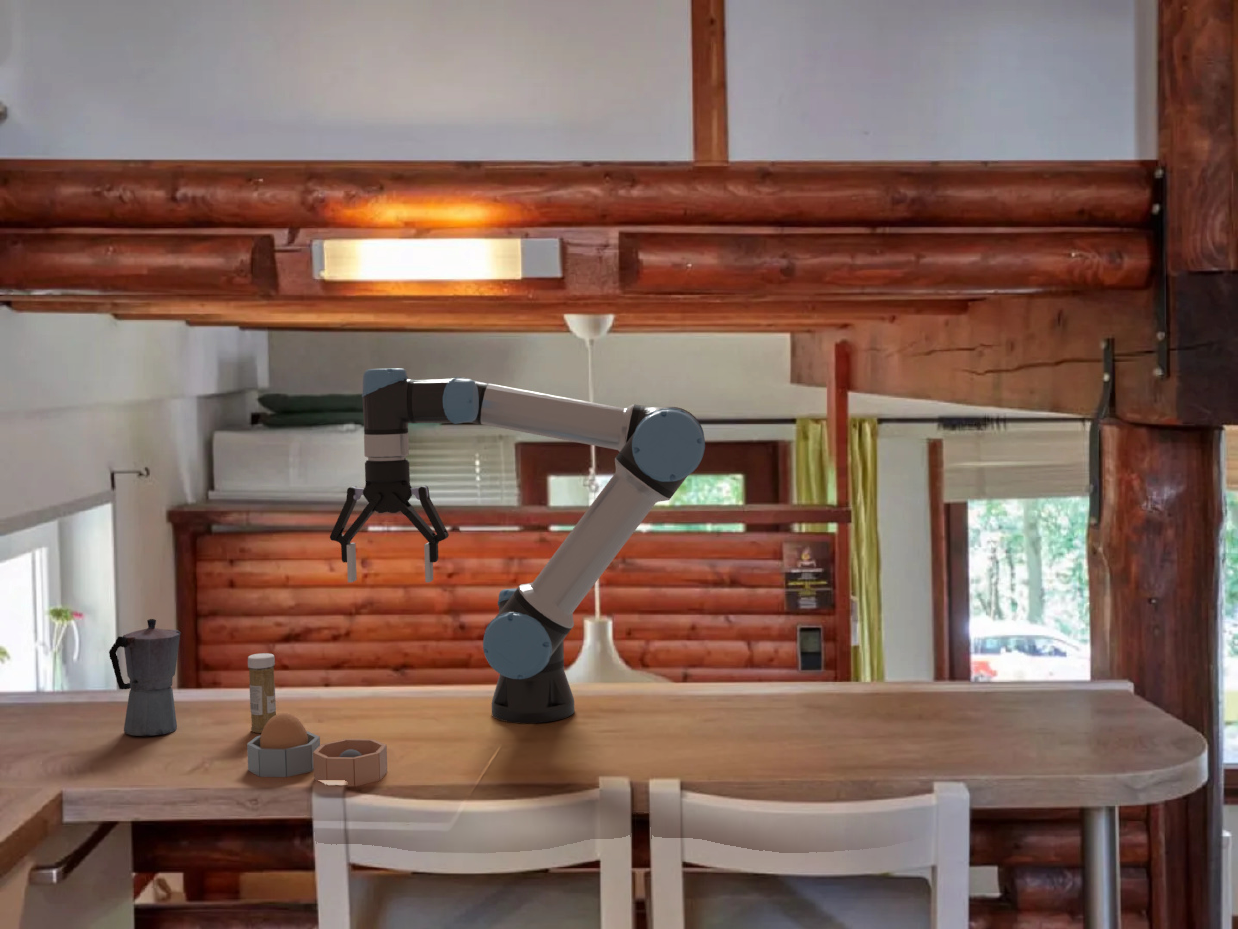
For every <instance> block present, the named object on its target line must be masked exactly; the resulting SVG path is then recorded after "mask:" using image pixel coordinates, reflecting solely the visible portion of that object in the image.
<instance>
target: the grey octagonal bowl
mask: <svg viewBox="0 0 1238 929" xmlns="http://www.w3.org/2000/svg"><path fill="white" fill-rule="evenodd" d="M306 732H307V736H308V744H305V745H301V746H296V747H291V748H287V749H263V748H260V738H261V734H260V735H257V736H255V737H254V738H253V739H251V740H249V742H247V744H246V746H247V747H246V748H247V749H246V752H247V770H248V772H251V773H252V774H254V775H256V776H258V777H259V778H260V777H261V778H270V777H271V778H286V777H287V778H289V777H292V776H297V775H298V776H299V775H302V774H306V773H310V772H314V764H313V752H314V751H315V750H316V749H317V748H318V747H319V746H320V745H321V736H319V735H318V734H317V735H316V734H315V733H313V732H310V731H307V730H306Z"/></svg>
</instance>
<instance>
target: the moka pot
mask: <svg viewBox="0 0 1238 929" xmlns="http://www.w3.org/2000/svg"><path fill="white" fill-rule="evenodd" d="M156 623H157V620H156V619H154V618H150V619H147V626H148V627H147V628H143V629H139V630H134V631H131V632H129V633H126V634H124V635H122V636H118V637H117V639H116V640H115V643H113V644H112V646H111V648H110V650H108V654H109V660H110V661H111V665H112V669H113V671H114V672H113V673H114V675H115V678H116V683H117V685H118V689H119V690H129V693H128V699H127V707H126V713H125V718H124V725H123V732H124V733H125V734H127V735H129V736H136V737H149V736H150V737H151V736H152V737H153V736H160V735H161V736H162V735H166V734H169V733H173V732H176V730H177V729H178V722H177V717H176V707H175V699H174V698H175V697H174V691H173V687H172V686H173V680H174V679H173V678H174V676H176V670H177V660H178V653H179V644H180V636H181V635H182V632H181V631H179V630H178V629H162V628H157V627H156ZM119 648H124V657H125V665H126V674H127V675H126V676H127V677H128V679H129V682H127V683H125V681H124V679H123V676H122V672H121V668H120V663H119V659H118V658H119V657H118V655H117V652H118V650H119Z"/></svg>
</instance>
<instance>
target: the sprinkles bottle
mask: <svg viewBox="0 0 1238 929" xmlns="http://www.w3.org/2000/svg"><path fill="white" fill-rule="evenodd" d="M275 661H276V659H275V655H274V654H272V653H267V652H262V653H261V652H260V653H254V654H251V655H249V656H247V668H248V670H249V675H248V676H249V684H248V685H249V703H250V705H249V707H250V708H249V709H250V715H251V717H250V718H251V720H250V721H251V727H250V730H251V732H252V733H256V734H261V733H262V731H263V729H264V727H265V725H266V723H267V722H268V721H269V720H270V719H271V718H272V717H274V716H275V715H277V712H276V711H277V704H276V702H277V701H276V684H275V664H276V662H275Z"/></svg>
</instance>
